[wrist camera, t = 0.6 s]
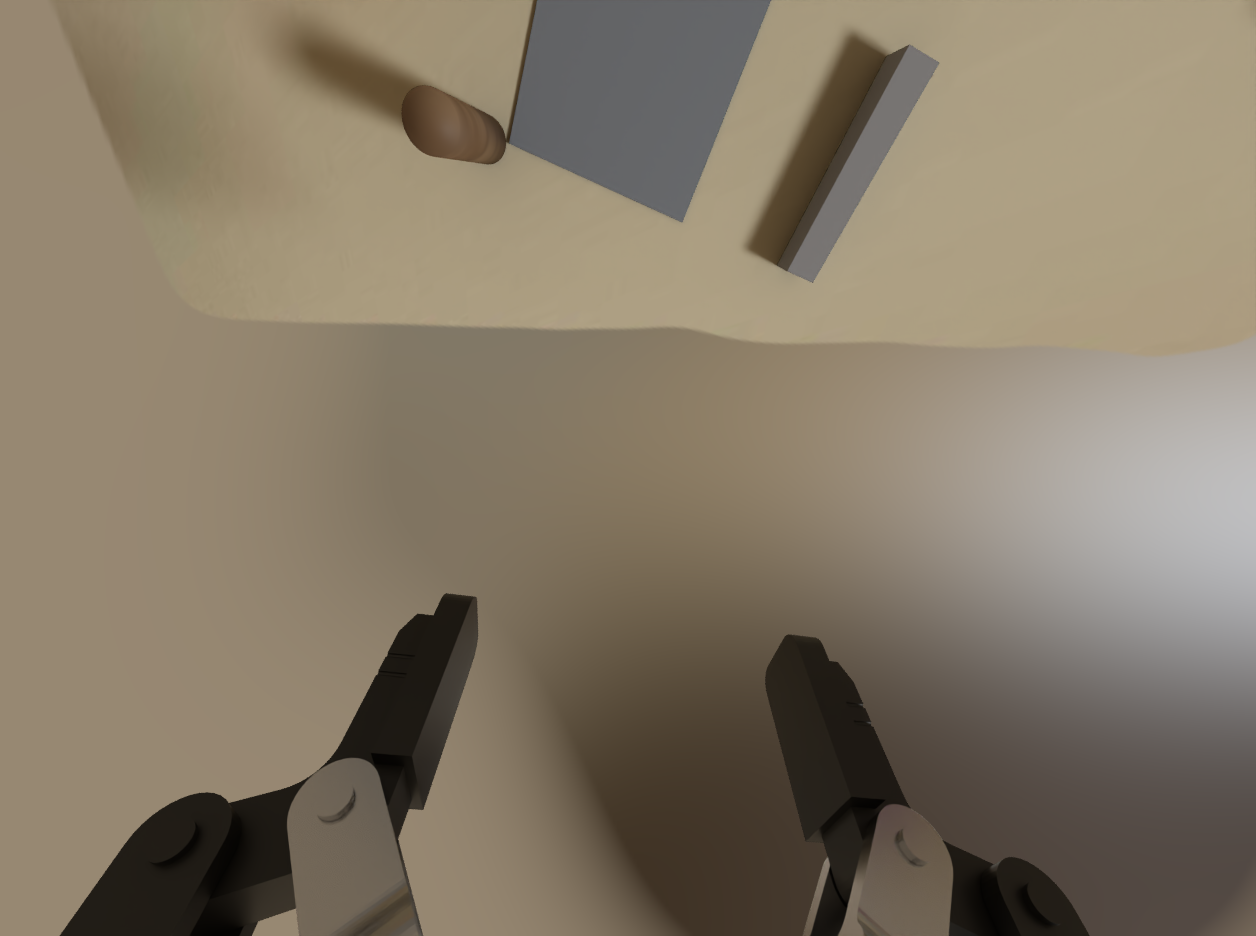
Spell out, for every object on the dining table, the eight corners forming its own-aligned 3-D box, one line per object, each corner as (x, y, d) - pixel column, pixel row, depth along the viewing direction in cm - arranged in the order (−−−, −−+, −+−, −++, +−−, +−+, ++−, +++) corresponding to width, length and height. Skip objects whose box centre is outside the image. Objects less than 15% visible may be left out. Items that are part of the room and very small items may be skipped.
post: (468, 105, 27) (404, 73, 19) (510, 124, 28) (464, 101, 20) (460, 153, 28) (398, 142, 21) (500, 171, 29) (454, 166, 21)
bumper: (886, 56, 26) (909, 44, 24) (914, 72, 26) (939, 62, 24) (777, 265, 32) (787, 271, 30) (800, 276, 32) (812, 282, 30)
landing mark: (565, -135, 22) (564, -138, 22) (774, -11, 24) (775, -12, 24) (509, 143, 28) (509, 143, 28) (681, 222, 30) (682, 222, 30)
